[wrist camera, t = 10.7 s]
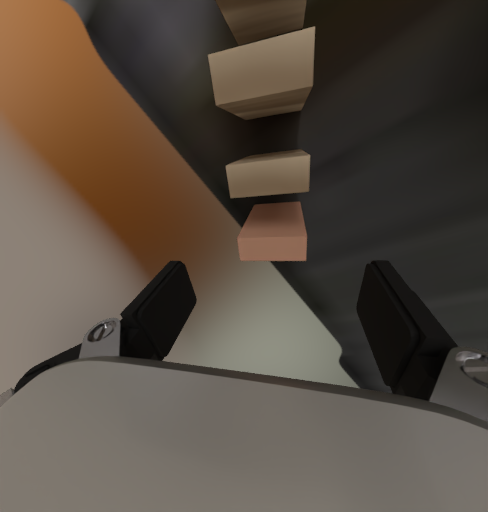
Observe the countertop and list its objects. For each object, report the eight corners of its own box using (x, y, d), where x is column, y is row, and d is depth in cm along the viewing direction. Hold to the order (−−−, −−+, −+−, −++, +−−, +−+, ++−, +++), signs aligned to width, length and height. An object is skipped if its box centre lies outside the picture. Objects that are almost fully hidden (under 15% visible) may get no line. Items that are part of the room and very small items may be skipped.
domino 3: (242, 92, 17) (207, 54, 9) (301, 80, 16) (315, 26, 8) (245, 119, 18) (215, 105, 10) (301, 110, 17) (312, 85, 9)
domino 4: (249, 155, 20) (225, 165, 12) (300, 149, 18) (310, 155, 11) (251, 176, 20) (230, 198, 13) (300, 171, 19) (308, 191, 12)
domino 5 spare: (254, 204, 22) (236, 238, 14) (299, 201, 21) (307, 236, 13) (255, 221, 23) (240, 261, 15) (299, 219, 22) (305, 260, 14)
